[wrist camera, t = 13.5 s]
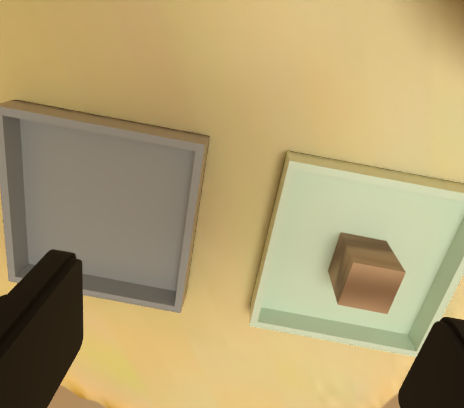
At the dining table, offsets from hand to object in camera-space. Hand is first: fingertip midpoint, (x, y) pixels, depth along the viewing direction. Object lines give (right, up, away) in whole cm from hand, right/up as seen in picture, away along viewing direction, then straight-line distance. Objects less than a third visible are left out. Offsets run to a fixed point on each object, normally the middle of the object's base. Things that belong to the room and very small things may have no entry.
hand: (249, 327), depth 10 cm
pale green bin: (+13, -2, +32) cm, 35 cm away
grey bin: (-14, +3, +32) cm, 35 cm away
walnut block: (+13, -2, +31) cm, 34 cm away
